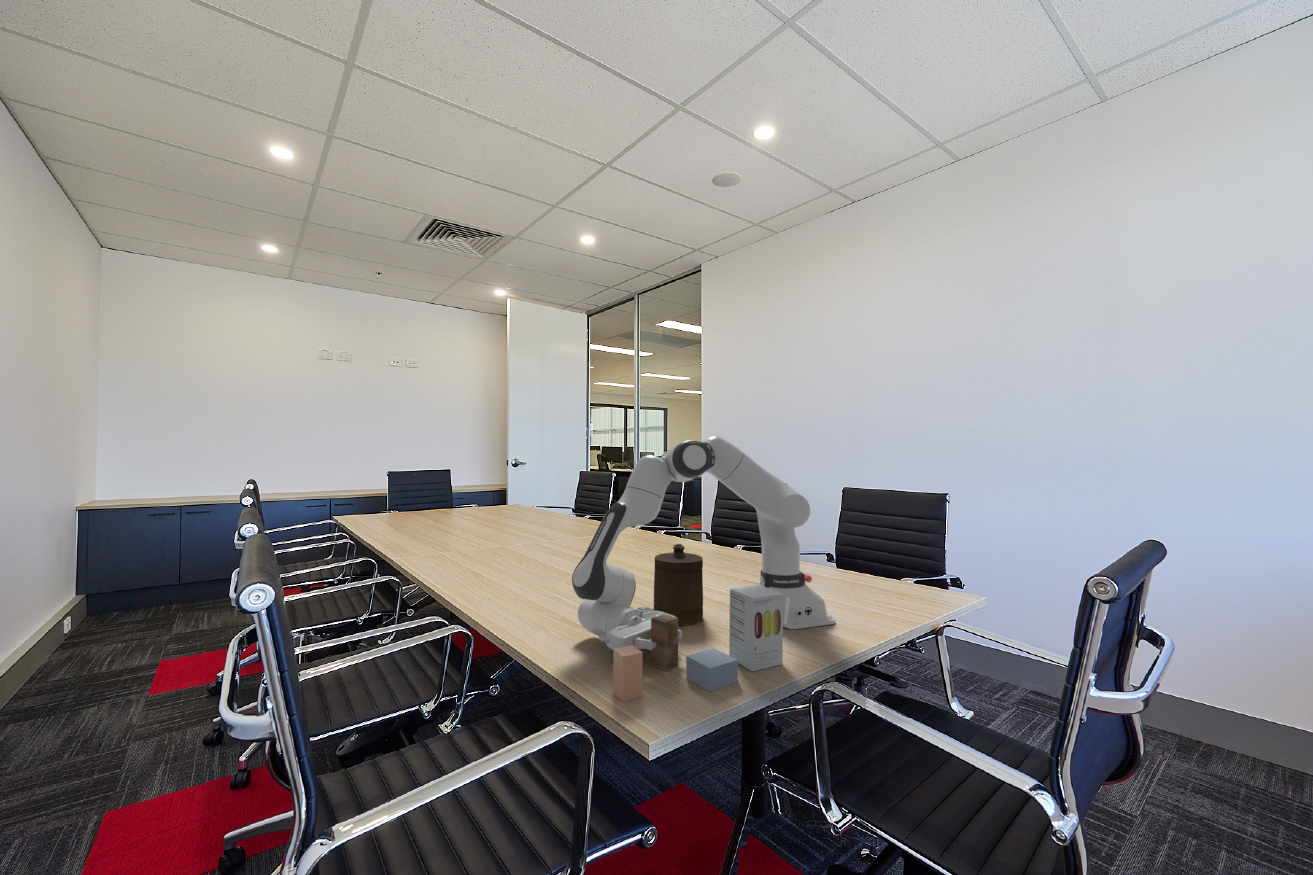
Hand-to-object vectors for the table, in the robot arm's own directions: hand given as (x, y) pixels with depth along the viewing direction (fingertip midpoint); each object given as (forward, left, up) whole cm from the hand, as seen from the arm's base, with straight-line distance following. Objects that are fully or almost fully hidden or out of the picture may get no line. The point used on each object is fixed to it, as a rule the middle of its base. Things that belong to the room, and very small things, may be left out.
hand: (667, 640), depth 120 cm
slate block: (-8, +8, -6) cm, 13 cm away
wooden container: (-9, -34, -6) cm, 36 cm away
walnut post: (+1, -1, -6) cm, 6 cm away
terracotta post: (+11, +12, -6) cm, 17 cm away
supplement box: (-21, 0, -6) cm, 22 cm away
